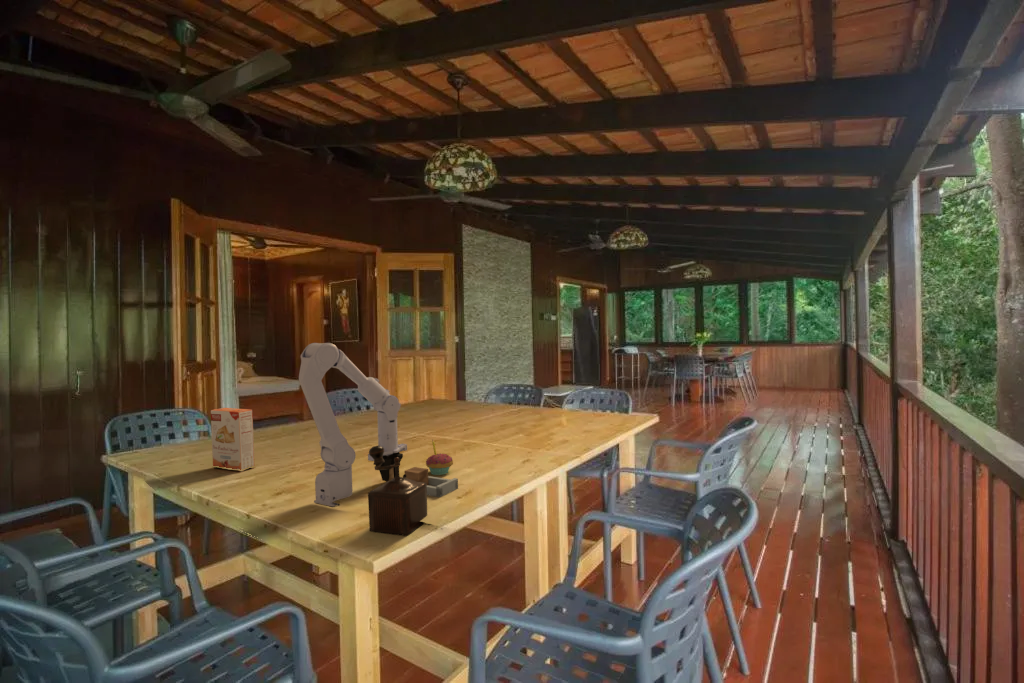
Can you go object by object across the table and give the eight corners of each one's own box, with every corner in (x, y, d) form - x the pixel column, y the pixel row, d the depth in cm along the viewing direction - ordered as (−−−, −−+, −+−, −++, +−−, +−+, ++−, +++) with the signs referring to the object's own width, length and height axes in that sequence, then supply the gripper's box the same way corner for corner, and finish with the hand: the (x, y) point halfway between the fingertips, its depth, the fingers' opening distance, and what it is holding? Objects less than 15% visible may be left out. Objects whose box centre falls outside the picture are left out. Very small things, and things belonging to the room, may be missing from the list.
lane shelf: (435, 503, 134) (435, 488, 133) (386, 494, 142) (385, 480, 142) (461, 490, 144) (461, 476, 144) (413, 482, 153) (413, 469, 153)
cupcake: (427, 481, 154) (426, 442, 154) (425, 473, 162) (424, 437, 162) (455, 478, 156) (454, 440, 156) (451, 471, 164) (450, 435, 164)
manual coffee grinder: (430, 518, 123) (428, 446, 122) (407, 536, 112) (404, 457, 112) (376, 512, 128) (374, 443, 128) (349, 529, 117) (347, 453, 117)
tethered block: (418, 490, 141) (417, 472, 141) (381, 483, 148) (381, 467, 148) (428, 485, 145) (428, 468, 145) (392, 479, 152) (391, 463, 152)
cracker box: (211, 469, 174) (209, 409, 174) (227, 464, 180) (225, 407, 179) (240, 472, 169) (237, 411, 168) (255, 468, 174) (253, 408, 174)
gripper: (380, 440, 141) (381, 487, 142) (414, 430, 154) (415, 474, 154) (362, 438, 145) (363, 484, 145) (397, 429, 157) (398, 471, 158)
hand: (389, 479), depth 150 cm, fingers closed on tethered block, 2 cm apart
